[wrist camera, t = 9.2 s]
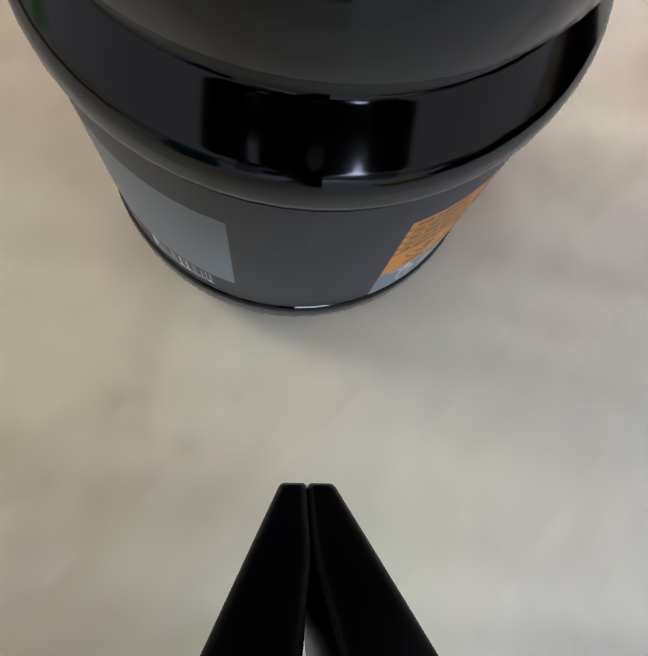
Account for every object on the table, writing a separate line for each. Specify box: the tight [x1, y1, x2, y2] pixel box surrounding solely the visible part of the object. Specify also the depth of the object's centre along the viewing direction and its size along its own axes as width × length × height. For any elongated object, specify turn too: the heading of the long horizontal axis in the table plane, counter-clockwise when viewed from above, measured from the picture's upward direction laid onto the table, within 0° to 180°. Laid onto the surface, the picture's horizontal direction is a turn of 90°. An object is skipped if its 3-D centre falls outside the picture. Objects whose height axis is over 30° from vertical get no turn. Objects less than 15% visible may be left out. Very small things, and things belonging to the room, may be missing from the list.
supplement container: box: [8, 0, 614, 316], centre depth 11 cm, size 10×10×12 cm
